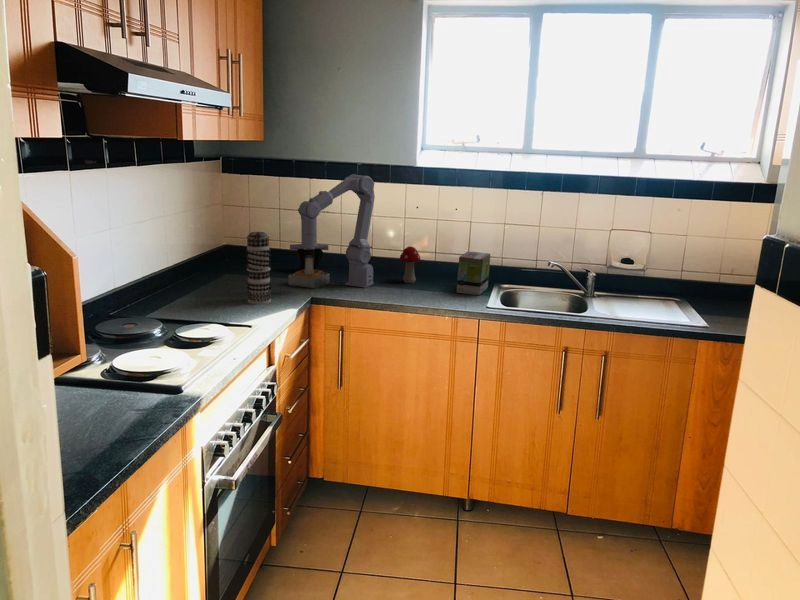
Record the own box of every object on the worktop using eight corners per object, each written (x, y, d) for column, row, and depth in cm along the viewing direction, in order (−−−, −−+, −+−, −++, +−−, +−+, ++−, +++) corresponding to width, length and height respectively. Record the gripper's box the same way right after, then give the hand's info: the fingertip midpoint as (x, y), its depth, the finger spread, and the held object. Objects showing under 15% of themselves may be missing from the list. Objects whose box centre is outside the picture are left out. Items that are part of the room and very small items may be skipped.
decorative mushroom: (397, 279, 282) (398, 244, 278) (417, 279, 283) (418, 244, 280) (401, 284, 273) (402, 248, 269) (421, 284, 274) (423, 248, 270)
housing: (329, 283, 271) (329, 270, 270) (313, 288, 260) (313, 276, 259) (304, 279, 276) (304, 267, 274) (288, 285, 265) (288, 272, 264)
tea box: (480, 295, 258) (483, 258, 255) (455, 293, 262) (457, 256, 258) (488, 287, 272) (490, 252, 269) (464, 285, 275) (466, 250, 272)
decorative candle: (256, 305, 234) (254, 235, 228) (241, 300, 240) (239, 232, 234) (277, 301, 240) (276, 233, 234) (262, 296, 247) (261, 230, 240)
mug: (327, 271, 293) (327, 250, 291) (303, 273, 286) (303, 252, 284) (317, 267, 299) (317, 247, 297) (294, 270, 292) (294, 249, 290)
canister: (315, 272, 255) (315, 255, 253) (310, 274, 251) (310, 257, 250) (307, 271, 256) (307, 254, 254) (302, 273, 253) (302, 256, 251)
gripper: (327, 231, 255) (327, 266, 258) (289, 231, 252) (289, 266, 256) (328, 234, 248) (328, 270, 252) (289, 234, 246) (290, 270, 249)
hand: (309, 268), depth 253 cm, fingers closed on canister, 4 cm apart
